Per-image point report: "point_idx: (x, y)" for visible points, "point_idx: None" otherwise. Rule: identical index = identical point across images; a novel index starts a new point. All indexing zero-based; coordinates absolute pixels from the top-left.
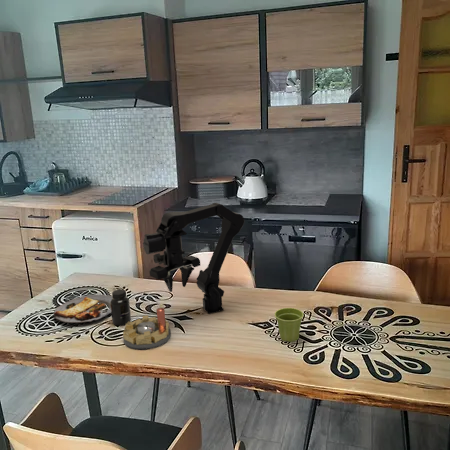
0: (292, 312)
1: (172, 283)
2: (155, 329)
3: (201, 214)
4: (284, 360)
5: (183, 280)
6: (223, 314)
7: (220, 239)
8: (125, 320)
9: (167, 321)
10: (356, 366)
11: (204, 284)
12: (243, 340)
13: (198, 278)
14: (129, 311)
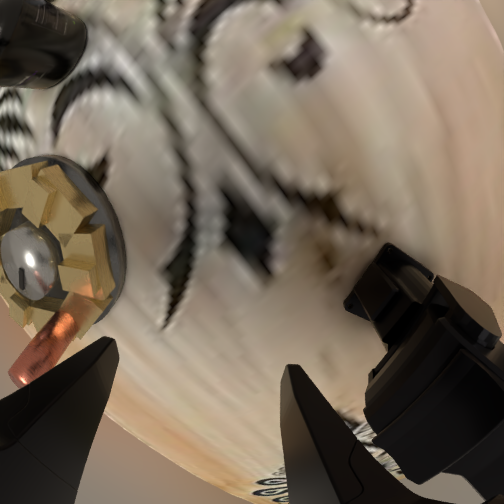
0: None
1: (85, 457)
2: (56, 282)
3: None
4: (240, 473)
5: (294, 437)
6: (362, 343)
7: None
8: (34, 88)
9: (103, 297)
10: (283, 493)
11: (374, 440)
12: (251, 437)
13: (456, 378)
14: (35, 69)
